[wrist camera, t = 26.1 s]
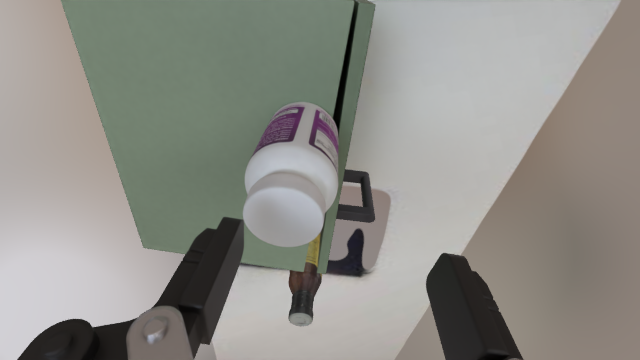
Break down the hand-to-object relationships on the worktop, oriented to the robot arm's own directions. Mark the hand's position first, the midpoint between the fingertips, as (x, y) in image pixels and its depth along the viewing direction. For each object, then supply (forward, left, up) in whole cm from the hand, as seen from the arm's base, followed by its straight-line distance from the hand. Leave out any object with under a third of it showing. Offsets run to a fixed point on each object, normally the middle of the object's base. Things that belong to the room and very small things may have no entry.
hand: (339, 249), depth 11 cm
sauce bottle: (+37, 0, -36) cm, 51 cm away
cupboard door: (+5, +3, -36) cm, 36 cm away
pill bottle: (+1, -3, -12) cm, 12 cm away
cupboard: (+5, -10, -36) cm, 37 cm away
